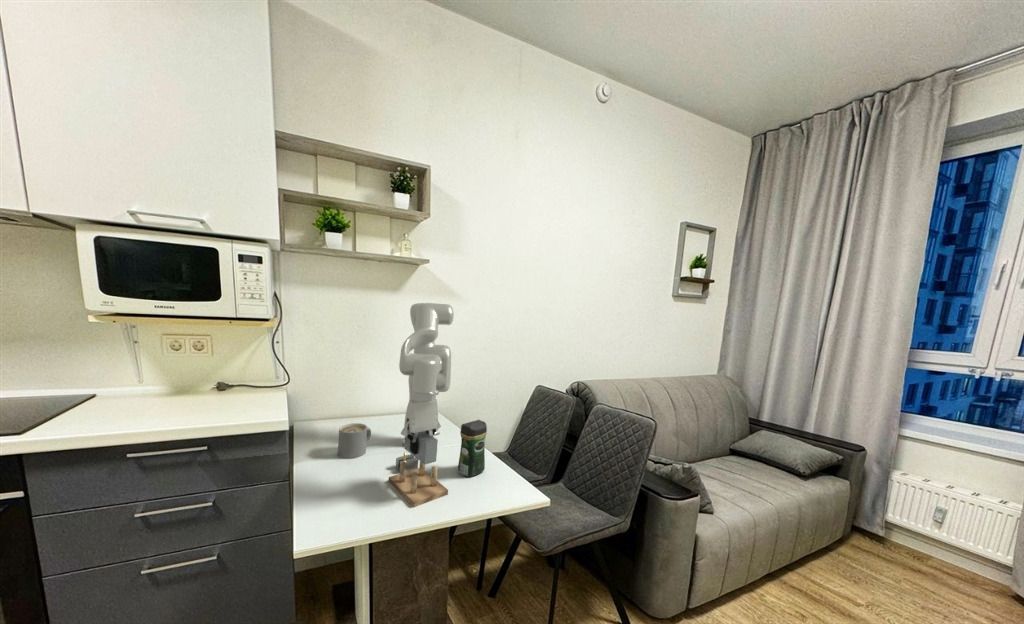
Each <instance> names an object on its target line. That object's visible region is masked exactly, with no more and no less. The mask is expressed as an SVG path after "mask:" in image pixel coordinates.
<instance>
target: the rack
mask: <svg viewBox="0 0 1024 624" xmlns="http://www.w3.org/2000/svg"><path fill="white" fill-rule="evenodd" d="M437 479H438V466H437V465H434V466H431V474H429V473H428V472H427V471H426V465H425V464H423V463H422V462H421V461H419V467H418V469H414V470H411V471H408V472H406V463H405V462H402V463H400V471H399V473H397V474H395V475H391V476H388V483H389V484H390V485H392V487H393V488H394V489H395V490H396V491H397V492H398V493H399V494H400V495H401V496H402V497H403V498H404V499H405V500H406V501H407V502H408V503H409V504H410V505H411V507H413V508H415V507H418V506H420V505H423V504H427V503H428V502H432V501H434V500H436V499H439V498H442V497H445V496H447V495H448V494H449V489H447V488H446V487H445V486H444V485H443V484H441V483H440V482H439V481H438V480H437Z"/></svg>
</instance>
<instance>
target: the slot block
mask: <svg viewBox="0 0 1024 624" xmlns="http://www.w3.org/2000/svg"><path fill="white" fill-rule="evenodd" d="M395 459H396V460H395V468H396V470H398V472H400V463H402V462H405V463H406V472H408V471H411V470H414V469H418V468H419V460H418V459H417V458H416V457H414V456H413V455H412V454H411V453H409V454H407V452H406V451H404V452H403V456H399V457H396V458H395Z"/></svg>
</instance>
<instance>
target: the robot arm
mask: <svg viewBox="0 0 1024 624" xmlns="http://www.w3.org/2000/svg"><path fill="white" fill-rule="evenodd" d="M409 313H410V314H409V315H410V321H411V325H412V327H413V330H414V332H413V333H411V335H409V336H408V337H407V338H406V339H405V340H404V341H403V343H402V346H401V348H400V356H399V363H398V365H399V366H398V368H399V371H400V373H401V374H402V375H403V376H408V392H409V393H408V394H409V397H408V398H409V399H408V403H407V406H406V411H405V417H404V426H403V428H402V430H401V431H400V434H401V436H403V439H402V445H403V446H405V437H407V438H408V439H409V440H410V451H411V452H412V453H413V454H414V455H415V454H417V442H416V439H417V435H418V433H419V432H423V431H425V432H427V433H428V434H430V435H431V436H433V437H436V436H440V434H441V432H440V430H439V429H441V427H442V426H441V423H440V422H439V405H438V400H437V399H436V398H437V395H439V394H440V393H445V392H447V391H449V390H450V388H451V374H452V352H451V349H450V347H449V346H448V345H446V344H445V345H444V344H436V343H435V341H436V340H437V338H438V337H439V325H442V326H443V325H444V326H450V325H451V324H452V323H453V321H454V317H455V316H454V308H453V306H452V305H450V304H446V303H433V302H420V303H418V302H417V303H414V304H412V305H411V306H410V310H409ZM411 351H413V353H410V352H411ZM408 430H410V434H409V433H407V432H408Z"/></svg>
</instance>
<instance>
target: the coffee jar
mask: <svg viewBox="0 0 1024 624" xmlns="http://www.w3.org/2000/svg"><path fill="white" fill-rule="evenodd" d="M487 429H488V428H487V423H486V422H485V421H484V420H480V419H477V420H472V421H469V422H465V423H463V424H461V426H460V436H461V444H460V452H459V457H458V458H459V459H458V466H457V471H458V473H459V474H460V475H462V476H463V477H469V478H473V477H474V476H477V475H479V474H481V473H483V472H484V471H485V469H486V467H485V464H486V463H485V462H486V461H485V449H486V448H485V445H486V444H485V443H486V442H485V441H486V437H487V432H488V430H487Z"/></svg>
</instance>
